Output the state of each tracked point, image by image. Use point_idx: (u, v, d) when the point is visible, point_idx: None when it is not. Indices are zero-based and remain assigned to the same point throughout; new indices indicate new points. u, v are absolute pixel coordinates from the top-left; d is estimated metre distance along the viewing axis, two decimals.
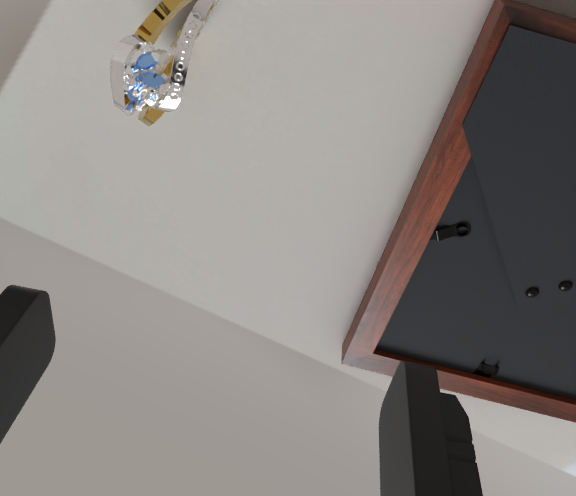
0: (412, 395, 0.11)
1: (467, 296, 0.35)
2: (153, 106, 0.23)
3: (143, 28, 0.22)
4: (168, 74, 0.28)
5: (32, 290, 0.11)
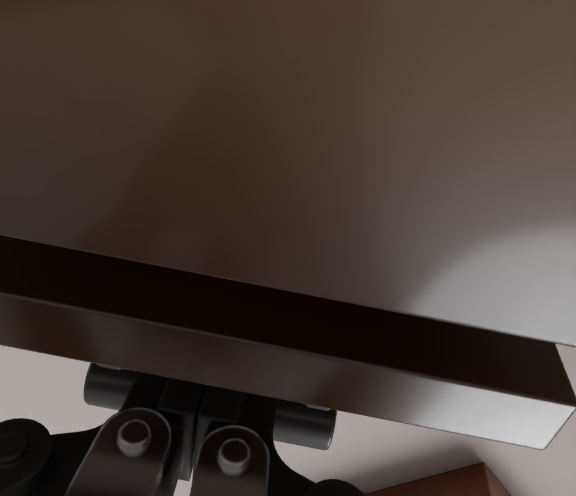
0: None
1: None
2: None
3: None
4: None
5: None
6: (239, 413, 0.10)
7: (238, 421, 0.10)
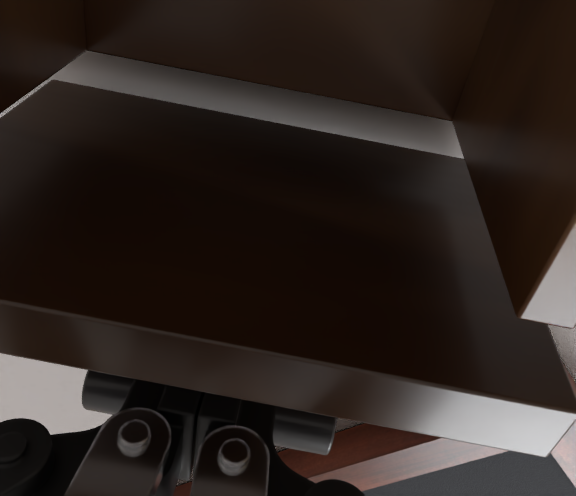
0: None
1: None
2: None
3: None
4: None
5: None
6: (239, 413, 0.10)
7: (238, 421, 0.10)
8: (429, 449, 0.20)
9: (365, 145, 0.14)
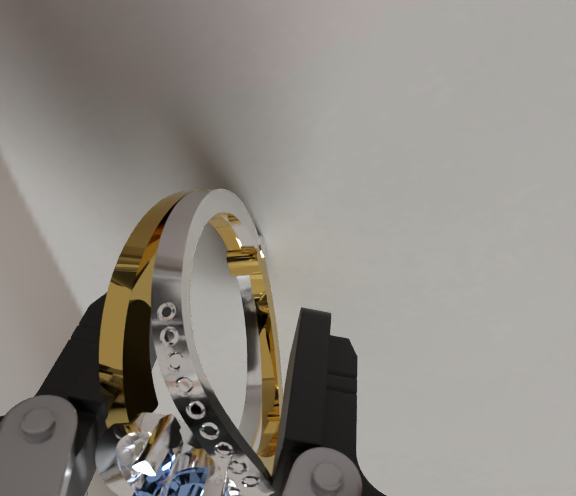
0: (302, 335, 0.12)
1: None
2: None
3: (110, 409, 0.10)
4: (269, 336, 0.15)
5: None
6: None
7: None
8: None
9: None
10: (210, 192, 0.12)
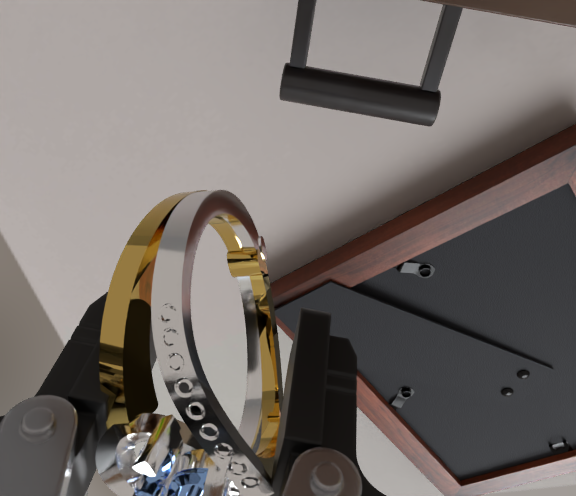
0: (302, 335, 0.12)
1: (470, 418, 0.38)
2: None
3: (110, 410, 0.10)
4: (269, 336, 0.15)
5: None
6: None
7: None
8: (485, 198, 0.27)
9: None
10: (211, 193, 0.12)
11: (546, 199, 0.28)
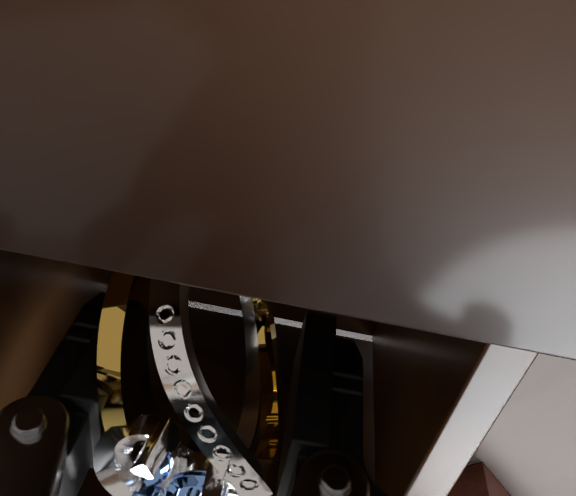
0: (308, 337, 0.12)
1: None
2: None
3: (108, 412, 0.10)
4: (267, 337, 0.15)
5: None
6: None
7: None
8: None
9: None
10: None
11: None
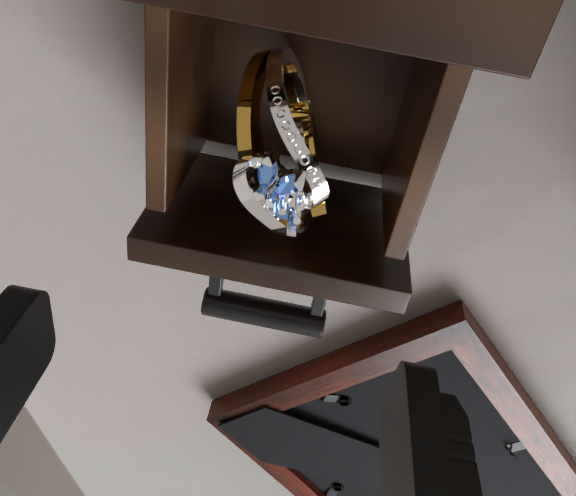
0: (412, 395, 0.11)
1: None
2: (309, 207, 0.19)
3: (241, 147, 0.18)
4: None
5: (32, 290, 0.11)
6: None
7: None
8: (385, 356, 0.33)
9: (341, 183, 0.27)
10: (288, 47, 0.20)
11: (437, 356, 0.33)
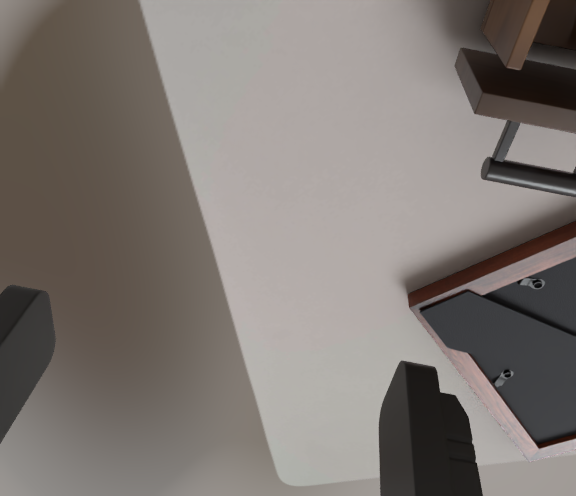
0: (412, 395, 0.11)
1: (553, 394, 0.51)
2: None
3: None
4: None
5: (32, 290, 0.11)
6: None
7: None
8: None
9: None
10: None
11: None
